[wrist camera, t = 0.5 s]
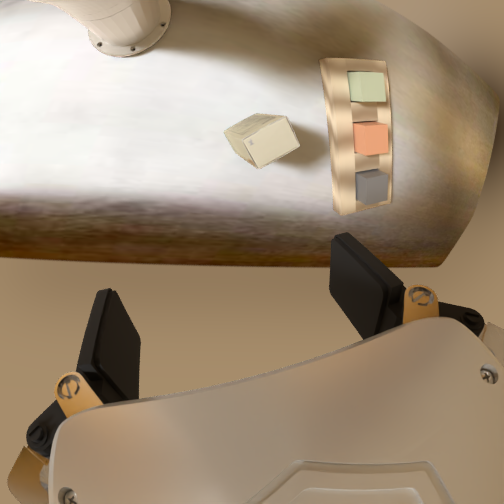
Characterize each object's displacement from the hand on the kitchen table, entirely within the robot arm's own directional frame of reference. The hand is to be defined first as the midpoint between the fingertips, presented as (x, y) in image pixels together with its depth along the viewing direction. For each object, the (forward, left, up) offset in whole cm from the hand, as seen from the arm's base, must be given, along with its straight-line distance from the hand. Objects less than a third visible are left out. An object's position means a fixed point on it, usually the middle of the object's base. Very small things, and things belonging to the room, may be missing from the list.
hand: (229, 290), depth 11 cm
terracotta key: (+2, +29, -32) cm, 43 cm away
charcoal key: (+11, +29, -32) cm, 44 cm away
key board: (+2, +29, -34) cm, 45 cm away
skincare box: (-1, +9, -34) cm, 35 cm away
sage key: (-7, +29, -32) cm, 43 cm away
